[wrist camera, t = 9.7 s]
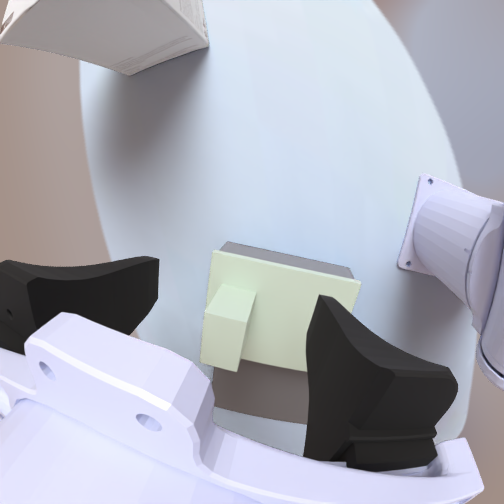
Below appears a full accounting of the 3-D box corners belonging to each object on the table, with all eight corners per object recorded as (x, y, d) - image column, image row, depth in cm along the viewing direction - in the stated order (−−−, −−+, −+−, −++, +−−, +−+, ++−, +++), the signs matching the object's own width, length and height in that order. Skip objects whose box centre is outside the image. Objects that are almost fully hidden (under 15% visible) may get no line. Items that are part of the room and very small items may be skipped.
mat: (341, 362, 24) (341, 365, 24) (310, 422, 27) (310, 424, 27) (218, 338, 25) (217, 340, 25) (210, 402, 28) (209, 404, 28)
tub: (349, 267, 21) (356, 282, 18) (321, 347, 24) (323, 367, 21) (227, 241, 22) (217, 252, 19) (215, 324, 25) (206, 342, 22)
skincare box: (204, 2, 16) (122, -98, 2) (211, 51, 18) (108, -55, 3) (123, 33, 17) (12, -19, 3) (124, 82, 19) (-10, 44, 5)
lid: (358, 277, 19) (375, 312, 14) (324, 365, 22) (328, 410, 17) (217, 247, 20) (191, 274, 15) (205, 340, 22) (185, 380, 18)
